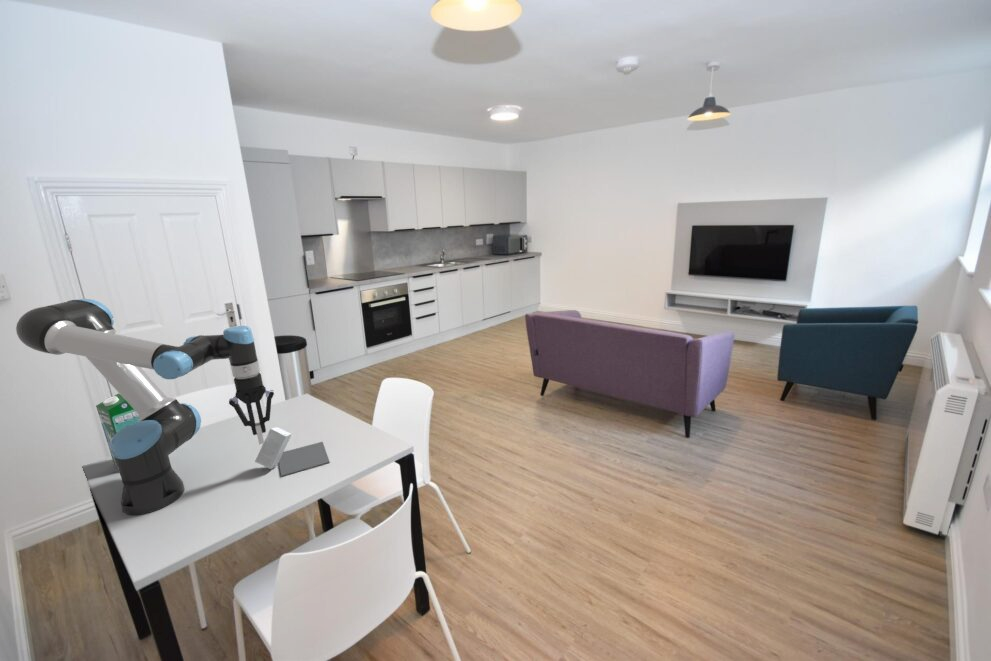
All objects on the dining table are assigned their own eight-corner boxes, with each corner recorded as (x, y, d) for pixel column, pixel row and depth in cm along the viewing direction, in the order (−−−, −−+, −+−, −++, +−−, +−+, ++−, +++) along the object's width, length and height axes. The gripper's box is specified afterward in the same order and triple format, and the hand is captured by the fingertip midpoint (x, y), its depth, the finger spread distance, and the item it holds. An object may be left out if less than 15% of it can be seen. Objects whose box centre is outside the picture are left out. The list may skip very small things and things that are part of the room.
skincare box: (277, 466, 147) (292, 434, 147) (270, 469, 142) (286, 436, 143) (261, 458, 147) (277, 426, 147) (253, 461, 143) (270, 428, 143)
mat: (281, 477, 140) (281, 475, 140) (278, 454, 154) (277, 453, 154) (329, 463, 147) (329, 461, 147) (322, 442, 161) (322, 441, 161)
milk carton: (113, 464, 152) (93, 399, 145) (143, 452, 159) (125, 389, 153) (126, 470, 148) (106, 403, 141) (156, 457, 155) (138, 393, 149)
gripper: (222, 383, 130) (238, 453, 136) (270, 374, 136) (284, 441, 142) (223, 376, 136) (239, 442, 143) (269, 367, 142) (282, 432, 149)
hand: (261, 442), depth 142 cm, fingers closed
